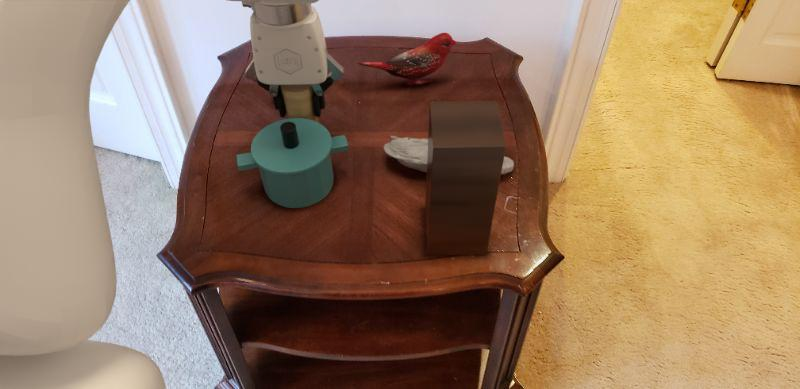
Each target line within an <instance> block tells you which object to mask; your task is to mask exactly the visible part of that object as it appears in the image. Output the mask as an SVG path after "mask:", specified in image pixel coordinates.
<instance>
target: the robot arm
mask: <svg viewBox="0 0 800 389" xmlns="http://www.w3.org/2000/svg"><path fill="white" fill-rule="evenodd" d="M228 1H230V2H241V6H242V7H243V8H249V9H251V11H252V13H251V16H250V18H249V19H250V20H249V30H250V31H249V33H250V41H251V51H252V60H251V61H250V63H249V65H248V66H247V67H246V69H245V72H244V77H245V78H247V79H248V80H250V81H252V82H254V83H257V85H258V86H259V87H261V88H262V89H264V90H265V91H267V93H268V94H269V96H271V97H272V99H273V104H274V107H275V110H278V112H279V117H280V118H285V117H286V116H287V115H286V110H285V105H284V100H283V95H282V90H281V85H301V84H311V85H312V87H313V90H314V92H313V103H314V110H315V116H317V117H318V118H320V117H321V114H322V110H325V109H326V99H325V92H326V91H327V90H329V88H331V86H332V85H333V83H335V82H337V81H339V80H340V79H342V78H343V77H344V75H345V68H344V67H343V66H342V65H341V64H340V63H339V62H338V61H337V60H336V59H334V57H333V56H332V55H330V54H329V53H328V48H327V42H326V37H325V34H324V30H323V26H322V22H321V18H320V16H319V13H318V11H317V9H316V8H315V6H312V4H315V3H317V2H319V1H320V0H227V2H228ZM130 2H131V0H0V389H167V385H166V381H165V379H164V375H163V373H162V371H161V369H160V367H159V365H158V364H157V363H156V362H155V361H154V359H152V358H151V357H150V356H149V355H147V354H145V353H143V352H142V351H139V350H137V349H136V348H132V347H129V346H126V345H120V344H117V343H112V342H111V343H110V342H107V341H106V342H105V341H100V340H91V338H92V337H93V336H94V335H95V334H96V333H98V332H99V331H100V329H102V328H103V326H104V325H105V324H106V322H107V321H108V319H109V317H110V316H111V314H112V311H113V307H114V303H115V301H116V295H117V283H118V282H117V278H118V277H117V268H116V259H115V251H114V246H113V239H112V234H111V229H110V224H109V219H108V213H107V212H108V211H107V208H106V203H105V198H104V196H105V195H104V192H103V187H102V182H101V176H100V171H99V165H98V161H97V156H96V148H95V144H94V138H93V131H92V123H91V116H90V115H91V114H90V112H91V110H90V101H91V100H90V99H91V86H92V83H93V77H94V74H95V70H96V66H97V63H98V61H99V57H100V56H101V54H102V51H103V49H104V46H105V44H106V41H107V40H108V38H109V36H110V34H111V32H112V31H113V28H114V26H116V23H117V21H118V20H119V18H120V16H121V15H122V13H123V12H124V11H125V8H126V7H127V6H128V4H129V3H130ZM328 70H329V71H330V72H328Z"/></svg>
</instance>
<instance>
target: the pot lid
mask: <svg viewBox="0 0 800 389" xmlns="http://www.w3.org/2000/svg"><path fill="white" fill-rule="evenodd" d="M331 137H332V136H331V133H330V132H329V130H328V129H327V127H325V126H324V125H323V124H321V123H320V122H319V123H318V122H315V121H313V120H309V119H303V118H290V119H287V118H284V119H281V120H277V121H274V122H272V123H270V124H268V125H266V126H265V127H263V128H262V129H260V130H259V132H257V134H256V135H255V136H254V137H253V139H252V142H251V145H250V152H251V154H252V157H253V159H254V161H255V162H256V164H257V165H258V166H259V167H261V168H262V169H264V170H266V171H268V172H271V173H275V174H281V175H291V174H298V173H302V172H305V171H308V170H311V169H313V168H315V167H316V166H318V165H319V164H321V163H322V162H323V161H324V160H325V159H326V158H327V156H328V155H329V153H330V151H331V147H332V140H331ZM330 154H331V153H330ZM259 167H258V168H259Z"/></svg>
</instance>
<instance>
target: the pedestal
mask: <svg viewBox="0 0 800 389" xmlns="http://www.w3.org/2000/svg"><path fill="white" fill-rule="evenodd" d="M428 111H429V112H428V132H427V134H428V136H427V139H428V155H427V173H426V182H425V183H426V184H425V202H424V204H425V205H424V216H425V217H424V218H425V234H426V235H425V236H426V252H427V253H426V255H427V256H486V255H487V252H488V246H489V241H490V237H491V236H490V235H491V230H492V225H493V218H494V214H495V209H496V204H497V199H498V198H497V197H498V194H499V189H500V188H499V187H500V182H501V176H502V174H501V172H502V166H503V161H504V156H505V157H506V149H507V144H506V139H505V135H504V134H505V133H504V130H503V125H502V124H503V123H502V120H501V114H500V110H499V105H498V101H497V100H477V101H475V100H472V101H471V100H470V101H468V100H467V101H466V100H465V101H429V110H428Z"/></svg>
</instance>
